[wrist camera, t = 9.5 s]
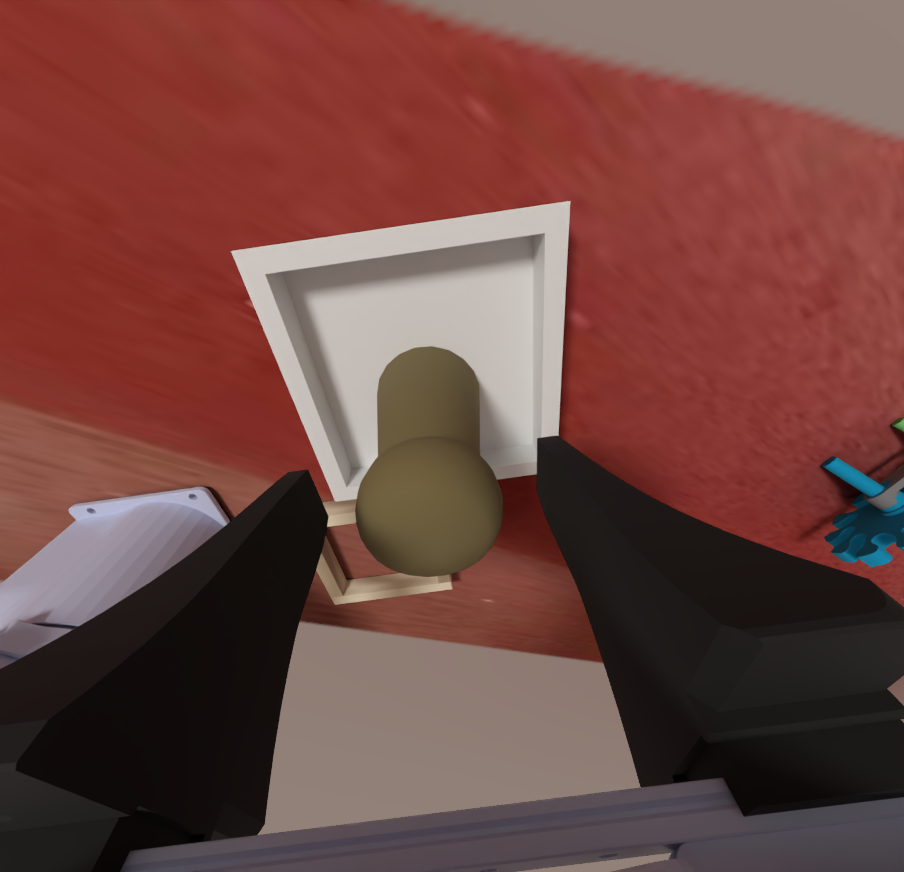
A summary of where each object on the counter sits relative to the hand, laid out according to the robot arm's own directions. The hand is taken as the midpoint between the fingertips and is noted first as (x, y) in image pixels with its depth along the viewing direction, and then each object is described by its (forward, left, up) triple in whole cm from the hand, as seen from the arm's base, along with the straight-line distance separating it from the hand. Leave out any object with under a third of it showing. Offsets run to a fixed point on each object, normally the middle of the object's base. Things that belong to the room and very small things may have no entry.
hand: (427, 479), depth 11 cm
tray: (0, 0, -10) cm, 10 cm away
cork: (0, -2, -10) cm, 10 cm away
